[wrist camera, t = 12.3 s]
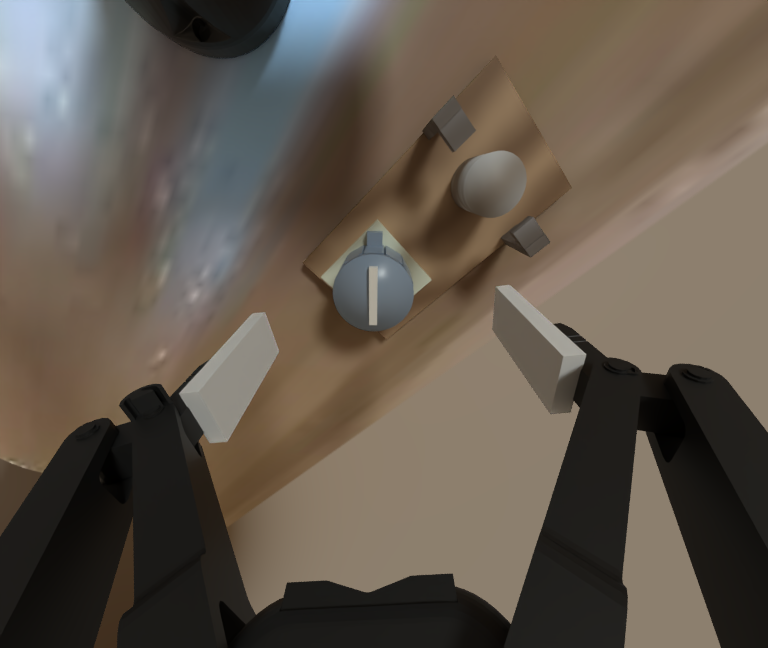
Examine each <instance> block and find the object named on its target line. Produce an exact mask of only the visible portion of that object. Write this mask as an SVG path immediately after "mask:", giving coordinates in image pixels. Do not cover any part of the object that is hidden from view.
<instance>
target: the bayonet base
mask: <svg viewBox="0 0 768 648" xmlns="http://www.w3.org/2000/svg"><path fill="white" fill-rule="evenodd" d="M571 188H572V187H571V185H570V183H569V182H568V180H567V178H566V176H565V175H564V173H563V171H562V169H561V168H560V166H559V164H558V162H557V161H556V159H555V157H554V155H553V154H552V152H551V150H550V149H549V147H548V145H547V143H546V142H545V140H544V138H543V136H542V135H541V133H540V131H539V129H538V128H537V126H536V124H535V122H534V121H533V119H532V117H531V116H530V114H529V112H528V110H527V109H526V107H525V105H524V103H523V102H522V100H521V98H520V96H519V95H518V93H517V91H516V89H515V88H514V86H513V84H512V83H511V81H510V79H509V77H508V76H507V74H506V72H505V70H504V69H503V67H502V65H501V63H500V62H499V60H498V58H497V56H495V57H494V58H493V59H492V60H491V61H490V62H489V63H488V64H487V65H486V66H485V67H484V69H483V70H482V71H481V72H480V73H479V74H478V75H477V76H476V77H475V78H474V79H473V80H472V81H471V82H470V84H469V85H468V86H467V87H466V88H465V89H464V90H463V91H462V92H461V93H460V94H459V95H458V96H457V98H455V97H454V95H453V96H452V97H451V99H450V100H449V101H448V102H447V103H446V104H445V105H444V106H443V107H442V108H441V109H440V110H439V112H438V113H437V114H436V115H435V116H434V117H433V118H432V119H431V120H430V122H429V123H428V124H427V126H426V127H425V128H424V129H423V134H422V135H421V136H420V137H419V138H418V139H417V140H416V142H415V143H414V144H413V145H412V146H411V147H410V148H409V149H408V150H407V151H406V152H405V153H404V154H403V155H402V157H401V158H400V159H399V160H398V161H397V162H396V163H395V164H394V165H393V166H392V167H391V168H390V169H389V171H388V172H387V173H386V174H385V175H384V176H383V177H382V178H381V179H380V180H379V181H378V182H377V183H376V184H375V186H374V187H373V188H372V189H371V190H370V191H369V192H368V193H367V194H366V195H365V196H364V197H363V198H362V200H361V201H360V202H359V203H358V204H357V205H356V206H355V207H354V208H353V209H352V210H351V211H350V212H349V213H348V215H347V216H346V217H345V218H344V219H343V220H342V221H341V222H340V223H339V224H338V225H337V226H336V227H335V228H334V230H333V231H332V232H331V233H330V234H329V235H328V236H327V237H326V238H325V239H324V240H323V241H322V242H321V244H320V245H319V246H318V247H317V248H316V249H315V250H314V251H313V252H312V253H311V254H310V255H309V256H308V257H307V259H306V260H305V261H304V262H303V264H304V265H305V266H307V267H308V268H309V269H310V270H311V271H312V272H313V273H314V274H315V275H316V276H318V277H319V278H320V279H321V280H322V281H323V282H324V283H325V284H326V285H327V286H328V287H330V288H331V289H332V290H333V286H334V280H335V278H336V276H337V274H338V272H339V270H340V268H341V266H342V264H343V263H344V261H345V259H346V257H347V255H349V253H351V252H352V251H354V250H356V249H358V248H359V247H361V246H363V245H365V247H366V244H367V231H383V240H382V245H384V247H385V246H388V247H390V248H391V249H393V250H394V251H396V252H398V253H399V254H401V256H402V257H403V259H404V261H405V263H406V264H407V266H408V268H409V270H410V273H411V277H412V280H413V290H414V298H413V303H412V307H411V309H410V311H409V313H408V314H407V316H406V317H405V318H404V319H403V320H402V321H401V322H400V323H398V324H397V325H395V326H394V327H392V328H389V329H386V330H382V331H378V332H379V333H380V334H381V335H382V336H383V337H384V338H385V339H387V338H389V337H390V336H391V335H392V334H394V333H395V332H396V331H397V330H399V329H400V328H401V327H402V326H403V325H405V324H406V323H407V322H408V321H410V320H411V319H412V318H413V317H414V316H416V315H417V314H418V313H419V312H421V311H422V310H423V309H424V308H425V307H427V306H428V305H429V304H430V303H432V302H433V301H434V300H435V299H436V298H438V297H439V296H440V295H441V294H443V293H444V292H445V291H446V290H447V289H449V288H450V287H451V286H452V285H454V284H455V283H456V282H457V281H458V280H460V279H461V278H462V277H463V276H465V275H466V274H467V273H468V272H470V271H471V270H472V269H473V268H474V267H476V266H477V265H478V264H479V263H481V262H482V261H483V260H484V259H485V258H487V257H488V256H489V255H490V254H492V253H493V252H494V251H495V250H496V249H498V248H499V247H500V246H501V245H503V244H504V243H505V244H506V245H508V246H510V247H512V248H514V249H515V250H517V251H519V252H521V253H523V254H525V255H527V256H529V257H532V256H533V255H535V254H536V253H537V252H539V251H540V250H541V249H542V248H544V247H545V246H546V245H548V244H549V243H550V241H549V239H548V238H547V236H546V235H545V234H544V232H543V231H542V229H541V228H540V226H539V225H538V223H537V222H536V220H535V219H534V218H536V217H537V216H538V215H539V214H541V213H542V212H543V211H544V210H545V209H547V208H548V207H549V206H550V205H552V204H553V203H554V202H555V201H556V200H558V199H559V198H560V197H561V196H563V195H564V194H565V193H566V192H567V191H569V190H570V189H571Z"/></svg>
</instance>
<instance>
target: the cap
mask: <svg viewBox="0 0 768 648" xmlns="http://www.w3.org/2000/svg"><path fill="white" fill-rule="evenodd" d="M382 240H383V231H367V244H366V247H365V245H363V246H361V247H359V248H358V249H356V250H354V251H352V252H351V253H349V255H347V257H346V259H345V261H344V263H343V264H342V266H341V268H340V270H339V272H338V274H337V276H336V278H335V280H334V286H333V300H334V303H335V306H336V309H337V310H338V312H339V314H340V315H341V316H342V318H343V319H344V320H346V321H347V322H348V323H349V324H351V325H352V326H354V327H356V328H359V329H362V330H366V331H382V330H386V329H389V328H392V327H394V326H395V325H397V324H398V323H400V322H401V321H402V320H403V319H404V318H405V317H406V316H407V314H408V313H409V311H410V309H411V307H412V303H413V298H414V290H413V280H412V277H411V273H410V270H409V268H408V266H407V264H406V263H405V261H404V259H403V257H402V256H401V254H399V253H398V252H396V251H394V250H393V249H391V248H390V247H388V246H385V247H384V245H382Z"/></svg>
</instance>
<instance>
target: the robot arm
mask: <svg viewBox="0 0 768 648" xmlns="http://www.w3.org/2000/svg"><path fill="white" fill-rule="evenodd" d="M125 1H126V2H127V3H128V4H129V5H130V6H131V7H132V8H133V9H134V10H135V11H136V12H137V13H138V14H139V15H140V16H141V17H142V18H143V19H144V20H145V21H147V22H148V23H149V24H150V25H151V26H153V27H154V28H155V29H157V30H158V31H160V32H161V33H163V34H164V35H166V36H167V37H169V38H170V39H172V40H173V41H175V42H176V43H178V44H179V45H181V46H183V47H184V48H186V49H188V50H190V51H193V52H195V53H198V54H201V55H204V56H208V57H214V58H232V57H237V56H241V55H244V54H246V53H249V52H250V51H252V50H254V49H256V48H257V47H259V46H260V45H261V44H262V43H264V42H265V41H266V40H267V39H268V38H269V36H270V35H271V34H272V33H273V32H274V30H275V29H276V27H277V26H278V24H279V22H280V21H281V19H282V17H283V15H284V13H285V10H286V8H287V5H288V2H289V0H125ZM492 330H493V331H494V333H495V334H496V336H497V337H498V339H499V340H500V341H501V343H502V344H503V346H504V347H505V349H506V350H507V352H508V353H509V355H510V356H511V357H512V359H513V360H514V362H515V363H516V365H517V366H518V368H519V369H520V371H521V372H522V373H523V375H524V376H525V378H526V379H527V381H528V382H529V384H530V385H531V387H532V388H533V390H534V391H535V393H536V394H537V395H538V397H539V398H540V400H541V401H542V403H543V404H544V406H545V407H546V409H547V410H548V411H549V413H550V414H556V413H568V412H571V409H572V405H573V401H575V403H576V404H577V405H578V406H579V407H580V409H579V412H578V416H577V419H576V422H575V425H574V428H573V431H572V434H571V438H570V441H569V444H568V447H567V450H566V453H565V457H564V460H563V463H562V466H561V469H560V472H559V476H558V479H557V482H556V485H555V488H554V491H553V495H552V498H551V501H550V504H549V507H548V510H547V514H546V517H545V520H544V523H543V527H542V529H541V532H540V535H539V538H538V541H537V544H536V547H535V550H534V554H533V556H532V560H531V563H530V566H529V569H528V572H527V575H526V579H525V582H524V585H523V588H522V591H521V594H520V597H519V601H518V604H517V607H516V610H515V613H514V616H513V620H512V623H511V624H510V623H509V622H508V620H507V619H505V617H503V615H501V614H500V613H499V612H498V611H497V610H496V609H495V608H494V607H493V606H491V605H490V604H489V603H488V602H486V601H485V600H483V599H482V598H480V597H478V596H477V595H475V594H473V593H471V592H469V591H466V590H465V589H461V588H458V587H455V585H454V579H453V574H436V575H417V576H409V577H407V578H405V579H402V580H400V581H397V582H395V583H392V584H390V585H387V586H385V587H382V588H380V589H377V590H375V591H372V592H369V593H366V592H361V591H359V590H355V589H352V588H349V587H346V586H343V585H339V584H336V583H333V582H330V581H309V582H291V583H287V585H286V589H285V594H284V598H282V599H279V600H277V601H276V602H274V603H272V604H270V605H269V606H268V607H266V608H265V609H263V610H262V611H261V612H259V613H258V614H257V615H256V614H255V612H254V610H253V609H252V607H251V605H250V602H249V600H248V597H247V595H246V591H245V588H244V585H243V581H242V578H241V575H240V571H239V568H238V565H237V562H236V558H235V555H234V551H233V548H232V545H231V542H230V538H229V535H228V532H227V528H226V525H225V522H224V518H223V515H222V512H221V508H220V505H219V502H218V499H217V495H216V492H215V489H214V485H213V482H212V479H211V475H210V472H209V469H208V466H207V462H206V459H205V456H204V452H203V449H202V446H201V445H200V443H199V442H198V441H199V439H200V438H201V436H202V435H203V434H204V435H205V436H206V438H207V440H208V441H209V443H218V442H227V441H228V440H229V438H230V436H231V434H232V433H233V431H234V429H235V428H236V426H237V424H238V422H239V421H240V419H241V417H242V415H243V414H244V412H245V410H246V408H247V407H248V405H249V403H250V401H251V400H252V398H253V396H254V395H255V393H256V391H257V389H258V388H259V386H260V384H261V382H262V381H263V379H264V377H265V375H266V374H267V372H268V370H269V369H270V367H271V365H272V363H273V362H274V360H275V358H276V356H277V355H278V353H279V349H278V347H277V344H276V341H275V338H274V335H273V333H272V330H271V327H270V324H269V322H268V319H267V316H266V313H265V312H262V313H253V314H251V316H250V317H249V318H248V319H247V320H246V321H245V322H244V323H243V324H242V325H241V326H240V328H239V329H238V330H237V331H236V332H235V333H234V334H233V335H232V336H231V337H230V338H229V340H228V341H227V342H226V343H225V344H224V345H223V346H222V347H221V348H220V349H219V350H218V352H217V353H216V354H215V355H214V356H213V357H212V358H211V359H210V360H208V361H206V362H205V363H204V364H202V365H201V366H199V367H198V368H197V369H196V370H195V371H194V372H193V373H192V374H191V376H189V377H188V378H187V380H186V382H184V383H183V384H182V385H181V386H180V387H179V388H178V389H177V390H176V391H175V392H174V393H173V394H172V395H171V397H169V396H168V394H167V393H166V391H165V390H164V388H163V387H162V385H161V384H151V385H147V386H144V387H141V388H139V389H137V390H135V391H133V392H132V393H130V394H129V395H127V396H126V397H125V398H124V399H123V400H122V401H121V402H120V405H119V406H120V407H121V409H122V410H123V411H124V413H125V414H126V415H127V416H128V418H129V419H130V420H131V422H128V423H125V424H122V425H118V426H115V425H114V424H113V423H112V421H111V420H110V419H108V418H101V419H97V420H94V421H92V422H89V423H86V424H84V425H83V426H80V427H79V428H77V429H76V430H75V431H74V432H72V433H71V434H70V435H69V436H68V437H67V438H66V439H65V440H64V442H63V443H62V445H61V446H60V448H59V449H58V451H57V452H56V454H55V455H54V457H53V458H52V460H51V461H50V463H49V464H48V466H47V467H46V469H45V470H44V472H43V473H42V475H41V476H40V478H39V479H38V481H37V482H36V484H35V485H34V487H33V488H32V490H31V491H30V493H29V494H28V496H27V497H26V499H25V500H24V502H23V503H22V505H21V506H20V508H19V509H18V511H17V512H16V514H15V515H14V517H13V518H12V520H11V521H10V523H9V524H8V526H7V527H6V529H5V530H4V532H3V533H2V535H1V536H0V648H93V647H94V644H95V641H96V637H97V634H98V631H99V627H100V624H101V621H102V618H103V614H104V611H105V608H106V604H107V601H108V598H109V594H110V591H111V588H112V584H113V581H114V578H115V574H116V571H117V568H118V564H119V561H120V557H121V554H122V551H123V548H124V544H125V541H126V537H127V534H128V531H129V527H130V524H131V521H132V517H133V540H134V605H133V607H132V608H131V609H129V610H128V611H127V612H125V613H124V614H123V615H122V617H121V619H120V621H119V627H118V636H117V648H624V643H625V631H626V619H627V602H628V601H627V599H628V597H627V596H628V595H627V588H626V587H625V586H624V585H623V582H622V571H623V562H624V553H625V543H626V533H627V523H628V513H629V502H630V493H631V483H632V473H633V463H634V454H635V443H636V434H637V433H636V432H637V430H642V431H646V434H647V437H648V440H649V443H650V446H651V448H652V451H653V454H654V457H655V460H656V462H657V466H658V468H659V471H660V474H661V477H662V480H663V483H664V486H665V488H666V491H667V494H668V497H669V500H670V503H671V505H672V508H673V511H674V514H675V517H676V520H677V523H678V526H679V528H680V531H681V534H682V537H683V540H684V542H685V546H686V548H687V551H688V554H689V557H690V560H691V563H692V566H693V569H694V571H695V574H696V577H697V580H698V583H699V586H700V589H701V591H702V594H703V597H704V600H705V603H706V606H707V608H708V611H709V614H710V617H711V620H712V623H713V626H714V629H715V631H716V634H717V637H718V640H719V643H720V646H721V648H768V432H767V431H766V430H765V428H764V427H763V426H762V425H761V423H760V422H759V421H758V419H757V418H756V417H755V416H754V414H753V413H752V412H751V410H750V409H749V408H748V407H747V405H746V404H745V403H744V401H743V400H742V399H741V398H740V396H739V395H738V394H737V392H736V391H735V390H734V389H733V388H732V386H731V385H730V383H729V382H728V381H727V380H726V379H725V378H724V377H723V376H721V375H720V374H718V373H716V372H714V371H712V370H710V369H708V368H704V367H702V366H696V365H691V364H675V365H672V366H671V367H670V368H669V370H668V372H667V375H661V374H651V373H642V372H641V370H639V368H638V367H636V366H635V365H633V364H631V363H630V362H627V361H624V360H621V359H617V358H607V357H606V356H605V355H603V354H602V353H601V352H600V351H598V350H597V349H596V348H595V347H594V346H593V345H591V344H590V343H589V342H587V341H586V340H585V339H584V338H583V337H582V336H580V335H579V334H578V333H577V332H576V331H574V330H573V329H572V328H570V327H568V326H566V325H564V324H561V323H558V324H552V323H551V322H550V321H549V320H548V319H547V318H546V317H545V316H543V315H542V314H541V313H540V312H539V311H538V310H537V309H536V308H535V307H534V306H532V305H531V304H530V303H529V302H528V301H527V300H526V299H525V298H524V297H522V296H521V295H520V294H519V293H518V292H517V291H516V290H515V289H514V288H513V287H511V286H510V285H505V286H496V288H495V301H494V314H493V327H492Z"/></svg>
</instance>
